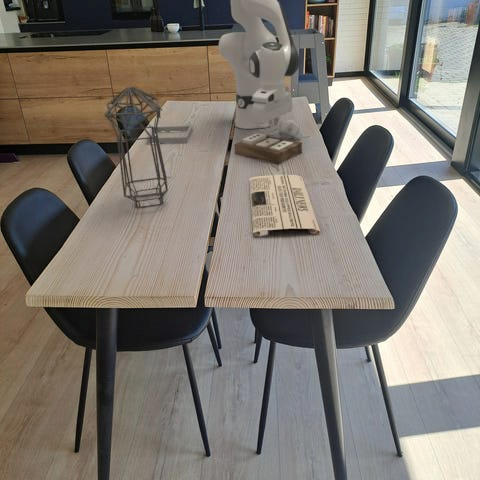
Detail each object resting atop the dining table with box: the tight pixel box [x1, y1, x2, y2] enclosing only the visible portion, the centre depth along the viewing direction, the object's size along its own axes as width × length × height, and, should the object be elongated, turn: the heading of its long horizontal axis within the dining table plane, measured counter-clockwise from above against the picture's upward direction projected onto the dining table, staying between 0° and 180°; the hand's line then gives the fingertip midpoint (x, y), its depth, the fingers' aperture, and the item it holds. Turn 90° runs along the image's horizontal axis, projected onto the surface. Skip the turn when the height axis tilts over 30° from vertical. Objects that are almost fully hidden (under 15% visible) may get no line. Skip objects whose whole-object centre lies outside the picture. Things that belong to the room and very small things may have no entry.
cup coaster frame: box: [146, 125, 194, 144], centre depth 198 cm, size 17×17×2 cm
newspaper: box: [248, 174, 321, 238], centre depth 136 cm, size 37×19×3 cm, turn 1°
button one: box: [256, 138, 279, 148], centre depth 174 cm, size 9×4×3 cm, turn 140°
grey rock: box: [276, 118, 301, 141], centre depth 187 cm, size 8×9×10 cm
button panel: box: [233, 134, 303, 166], centre depth 175 cm, size 15×21×4 cm
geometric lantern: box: [104, 85, 169, 209], centre depth 135 cm, size 16×16×35 cm
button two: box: [270, 141, 293, 151], centre depth 171 cm, size 9×4×3 cm, turn 140°
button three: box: [242, 132, 267, 145], centre depth 178 cm, size 9×4×3 cm, turn 140°
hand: (273, 129), depth 170 cm, fingers closed
